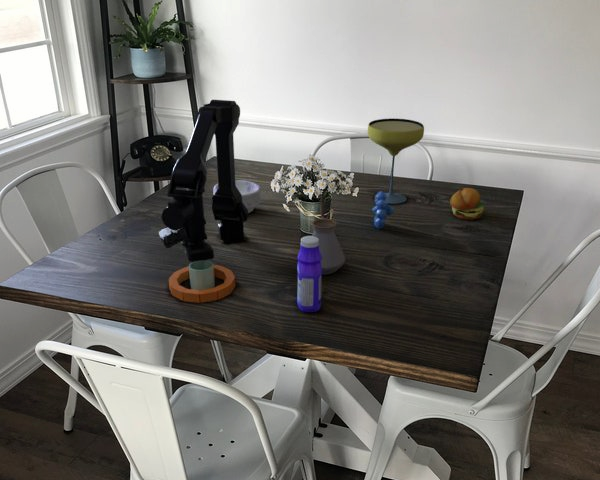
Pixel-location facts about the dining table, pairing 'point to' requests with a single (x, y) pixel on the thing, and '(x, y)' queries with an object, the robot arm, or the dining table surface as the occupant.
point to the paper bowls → (247, 193)
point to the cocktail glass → (395, 143)
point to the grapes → (381, 210)
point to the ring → (205, 294)
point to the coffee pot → (328, 242)
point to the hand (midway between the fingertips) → (197, 270)
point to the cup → (201, 275)
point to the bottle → (309, 275)
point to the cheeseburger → (467, 204)
